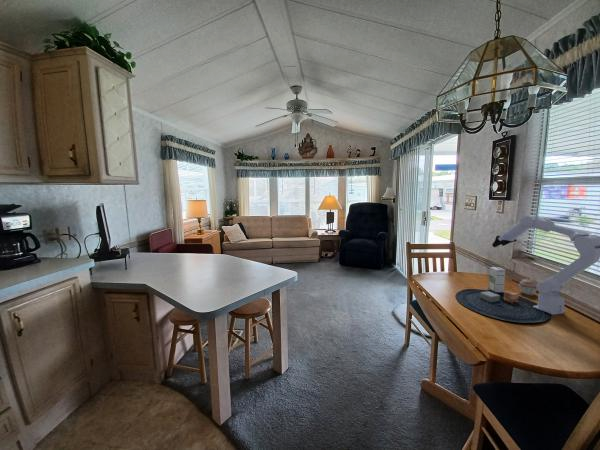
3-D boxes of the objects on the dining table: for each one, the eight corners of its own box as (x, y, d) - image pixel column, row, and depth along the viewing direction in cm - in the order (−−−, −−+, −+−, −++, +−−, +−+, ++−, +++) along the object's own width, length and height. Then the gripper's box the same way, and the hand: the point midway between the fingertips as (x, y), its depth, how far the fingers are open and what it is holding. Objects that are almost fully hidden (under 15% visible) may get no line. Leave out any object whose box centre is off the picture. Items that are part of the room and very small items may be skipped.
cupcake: (513, 290, 159) (514, 275, 158) (528, 290, 159) (530, 275, 158) (525, 296, 150) (527, 280, 149) (542, 296, 150) (544, 280, 148)
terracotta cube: (517, 302, 143) (518, 293, 143) (511, 303, 142) (512, 294, 142) (509, 299, 148) (510, 290, 147) (503, 300, 146) (504, 291, 146)
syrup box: (504, 292, 157) (506, 269, 155) (494, 292, 157) (496, 269, 155) (497, 288, 163) (499, 266, 161) (487, 288, 163) (489, 266, 161)
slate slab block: (499, 301, 145) (499, 295, 145) (490, 302, 144) (491, 296, 143) (488, 296, 151) (488, 291, 151) (479, 298, 150) (480, 292, 149)
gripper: (518, 224, 151) (500, 238, 161) (502, 227, 146) (484, 241, 156) (528, 234, 147) (509, 247, 157) (511, 237, 142) (493, 251, 152)
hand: (497, 245), depth 156 cm, fingers open, 7 cm apart
